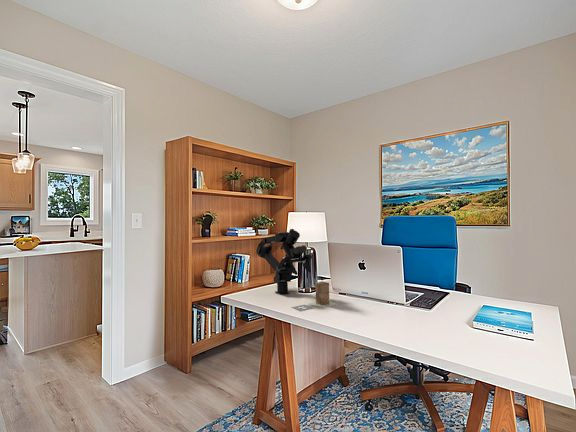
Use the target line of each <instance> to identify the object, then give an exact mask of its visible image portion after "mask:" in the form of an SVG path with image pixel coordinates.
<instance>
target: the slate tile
mask: <svg viewBox="0 0 576 432" xmlns="http://www.w3.org/2000/svg"><path fill="white" fill-rule="evenodd" d="M290 308H291V309H293V310H295V311H298V312H304V311H305V312H306V311H308V310H315V308H314V307H313V306H309V305H306V304H301V305H296V306H292V307H290Z"/></svg>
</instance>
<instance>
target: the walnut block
mask: <svg viewBox="0 0 576 432" xmlns="http://www.w3.org/2000/svg"><path fill="white" fill-rule="evenodd" d="M315 301H316V304H319V305H326V304H329V301H330V282H326V281H319V282H315Z"/></svg>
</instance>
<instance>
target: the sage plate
mask: <svg viewBox="0 0 576 432" xmlns="http://www.w3.org/2000/svg"><path fill="white" fill-rule="evenodd" d="M308 304H309V305H312V306H314V307H317V308H321V309H322V308H326V307H330V306H337V303H335V302H332V301H330V300H329V304H326V305H319V304H316V300H315V301H311V302H308Z"/></svg>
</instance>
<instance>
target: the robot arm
mask: <svg viewBox="0 0 576 432" xmlns="http://www.w3.org/2000/svg"><path fill="white" fill-rule="evenodd" d="M300 236H301V235H300V232H298V231H297V230H295V229H294V228H290V229H289V231H279V232H276V233H275V234H274V235H270V236H265V237H262V239H261V241H260V242H259V243H258V244H257V247H256V255H257V256H258V257H259V258H262V259H263V260H265V261H266V262H267V263H268V264H269V266H271V268H272V269H273V271H274V273H275V274H274V277H273V283H275V284H276V289H277V290H276V291H274V293H276V294H278V295H286V294H291V291H289V287H288V285H289V284H288V283H291V281H292V276H293V274H294V275H295V276H297V275H298V272H297V269H296V267H295V266H294V263H301V265H302V267H303V268H304V269H305V270H306V271H307V273H312V268H311V264H310V263H311V260H312V259H313V256H312V255H311V254H304V255H303V253H306V251H308V247H307V246H306V245H305V244H302V245H299V246H296V247H295V246H294V245H295V244H296V243H297V242H298V241H299V238H300ZM272 243H282V244H280V248H279V249H280V250H283V251H284V252H285V256H283V257H282V259H281V260H280V262H279V260H278V259H277V258H276V257H275V256H274V255H273V254H272V249H273V245H272ZM266 244H268V245H266Z"/></svg>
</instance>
